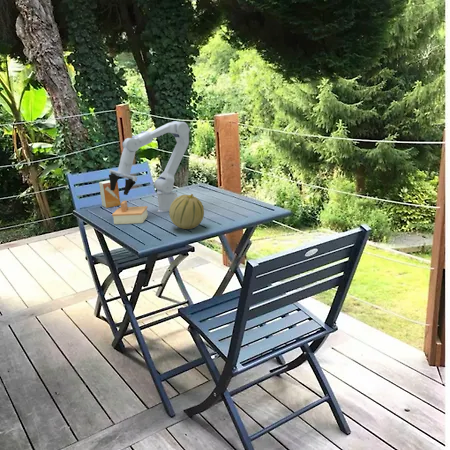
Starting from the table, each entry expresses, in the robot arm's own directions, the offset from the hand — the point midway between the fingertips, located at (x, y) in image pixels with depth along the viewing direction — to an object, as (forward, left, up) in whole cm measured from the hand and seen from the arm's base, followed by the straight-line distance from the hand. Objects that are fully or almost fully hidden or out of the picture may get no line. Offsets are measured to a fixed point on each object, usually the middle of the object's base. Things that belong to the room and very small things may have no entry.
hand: (118, 192), depth 214 cm
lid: (-5, +3, -9) cm, 11 cm away
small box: (+13, -27, -13) cm, 33 cm away
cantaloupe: (-34, +17, -13) cm, 40 cm away
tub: (-5, +3, -13) cm, 14 cm away
